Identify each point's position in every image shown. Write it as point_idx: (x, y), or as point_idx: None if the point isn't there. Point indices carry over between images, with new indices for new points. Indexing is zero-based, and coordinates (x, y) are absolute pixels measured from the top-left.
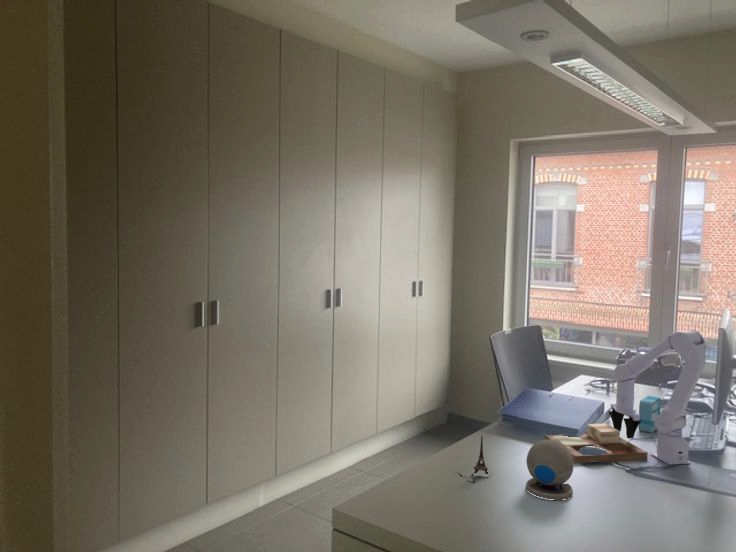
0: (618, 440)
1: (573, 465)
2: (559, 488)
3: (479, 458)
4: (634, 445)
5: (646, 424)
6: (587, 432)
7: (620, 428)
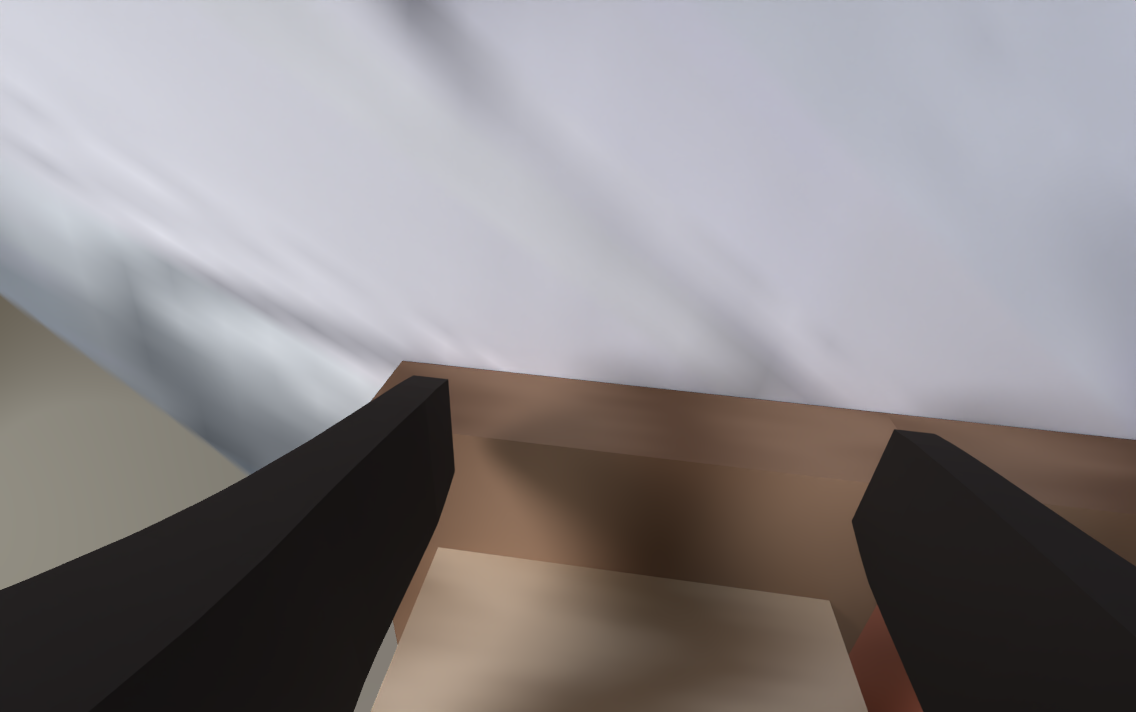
0: (833, 640)
1: None
2: None
3: None
4: (1085, 515)
5: None
6: None
7: (426, 421)
